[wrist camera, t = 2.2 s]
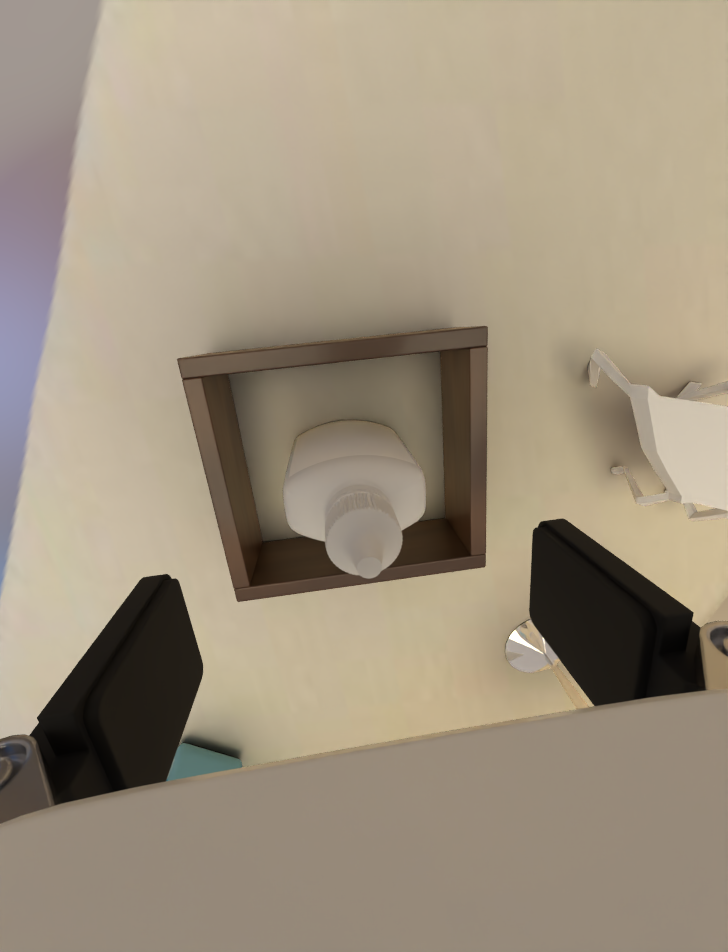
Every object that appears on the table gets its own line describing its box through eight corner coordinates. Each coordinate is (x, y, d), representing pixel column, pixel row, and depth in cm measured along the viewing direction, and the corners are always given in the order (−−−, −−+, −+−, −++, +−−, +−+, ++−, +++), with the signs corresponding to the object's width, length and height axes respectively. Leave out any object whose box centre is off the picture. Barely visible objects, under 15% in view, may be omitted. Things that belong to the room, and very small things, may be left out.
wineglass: (478, 632, 28) (586, 838, 16) (569, 589, 27) (746, 770, 16) (510, 695, 30) (625, 914, 19) (595, 657, 29) (764, 857, 18)
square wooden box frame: (207, 353, 20) (176, 358, 16) (454, 327, 21) (488, 325, 16) (252, 555, 24) (236, 602, 20) (458, 527, 25) (486, 567, 20)
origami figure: (752, 394, 24) (857, 409, 19) (664, 514, 26) (739, 553, 21) (594, 299, 21) (672, 289, 16) (511, 442, 23) (558, 469, 19)
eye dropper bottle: (314, 392, 21) (304, 459, 10) (407, 434, 22) (494, 536, 11) (283, 465, 22) (243, 599, 11) (374, 501, 24) (421, 654, 12)
